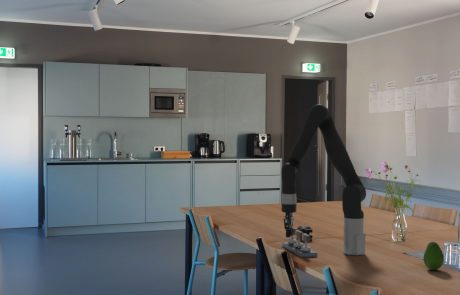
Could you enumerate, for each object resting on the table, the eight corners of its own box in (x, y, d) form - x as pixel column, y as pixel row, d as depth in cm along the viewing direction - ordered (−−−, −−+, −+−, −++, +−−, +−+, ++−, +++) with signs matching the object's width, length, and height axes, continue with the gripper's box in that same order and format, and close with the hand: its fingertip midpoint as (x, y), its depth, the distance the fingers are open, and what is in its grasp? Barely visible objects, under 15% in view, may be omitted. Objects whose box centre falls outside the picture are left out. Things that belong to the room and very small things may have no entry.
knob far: (299, 243, 277) (300, 228, 276) (294, 244, 273) (294, 229, 273) (290, 241, 281) (290, 227, 281) (285, 242, 278) (285, 228, 278)
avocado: (423, 271, 231) (423, 242, 230) (423, 267, 238) (424, 239, 238) (443, 273, 228) (444, 244, 227) (443, 268, 235) (444, 240, 235)
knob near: (312, 251, 257) (313, 235, 257) (304, 252, 256) (304, 236, 256) (307, 248, 263) (308, 233, 263) (299, 249, 262) (299, 233, 262)
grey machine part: (296, 237, 305) (296, 225, 305) (309, 237, 305) (309, 225, 305) (299, 241, 295) (299, 228, 295) (312, 241, 295) (312, 228, 295)
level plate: (317, 256, 257) (317, 251, 257) (301, 257, 255) (301, 252, 255) (297, 245, 282) (297, 240, 282) (282, 246, 280) (282, 241, 280)
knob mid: (305, 247, 266) (305, 232, 266) (297, 248, 265) (297, 232, 265) (301, 245, 272) (301, 230, 272) (292, 245, 271) (292, 230, 271)
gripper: (293, 204, 270) (293, 239, 271) (299, 201, 284) (298, 234, 284) (278, 204, 273) (278, 238, 273) (284, 200, 286) (284, 233, 286)
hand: (288, 236), depth 279 cm, fingers closed on knob far, 2 cm apart
